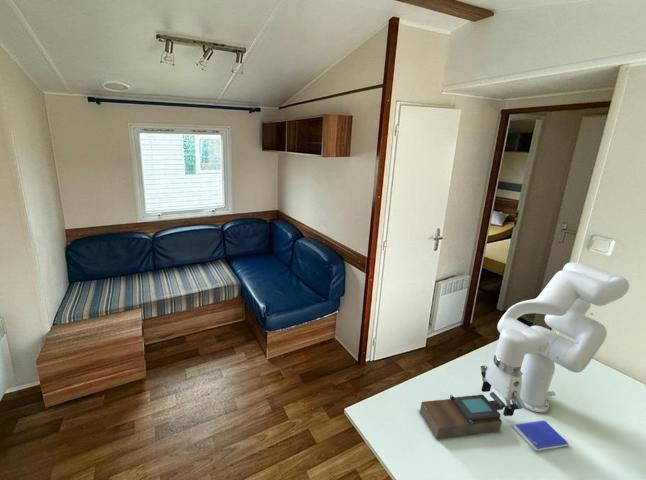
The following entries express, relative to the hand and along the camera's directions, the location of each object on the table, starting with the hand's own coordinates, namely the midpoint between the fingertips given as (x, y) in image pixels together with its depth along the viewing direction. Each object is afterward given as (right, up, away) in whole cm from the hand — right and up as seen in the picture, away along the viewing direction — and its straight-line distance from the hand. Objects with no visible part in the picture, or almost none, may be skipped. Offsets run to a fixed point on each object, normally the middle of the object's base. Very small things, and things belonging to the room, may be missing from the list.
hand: (496, 402), depth 105 cm
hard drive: (+12, -9, -4) cm, 16 cm away
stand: (-14, -7, 0) cm, 16 cm away
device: (-6, -2, 0) cm, 6 cm away
